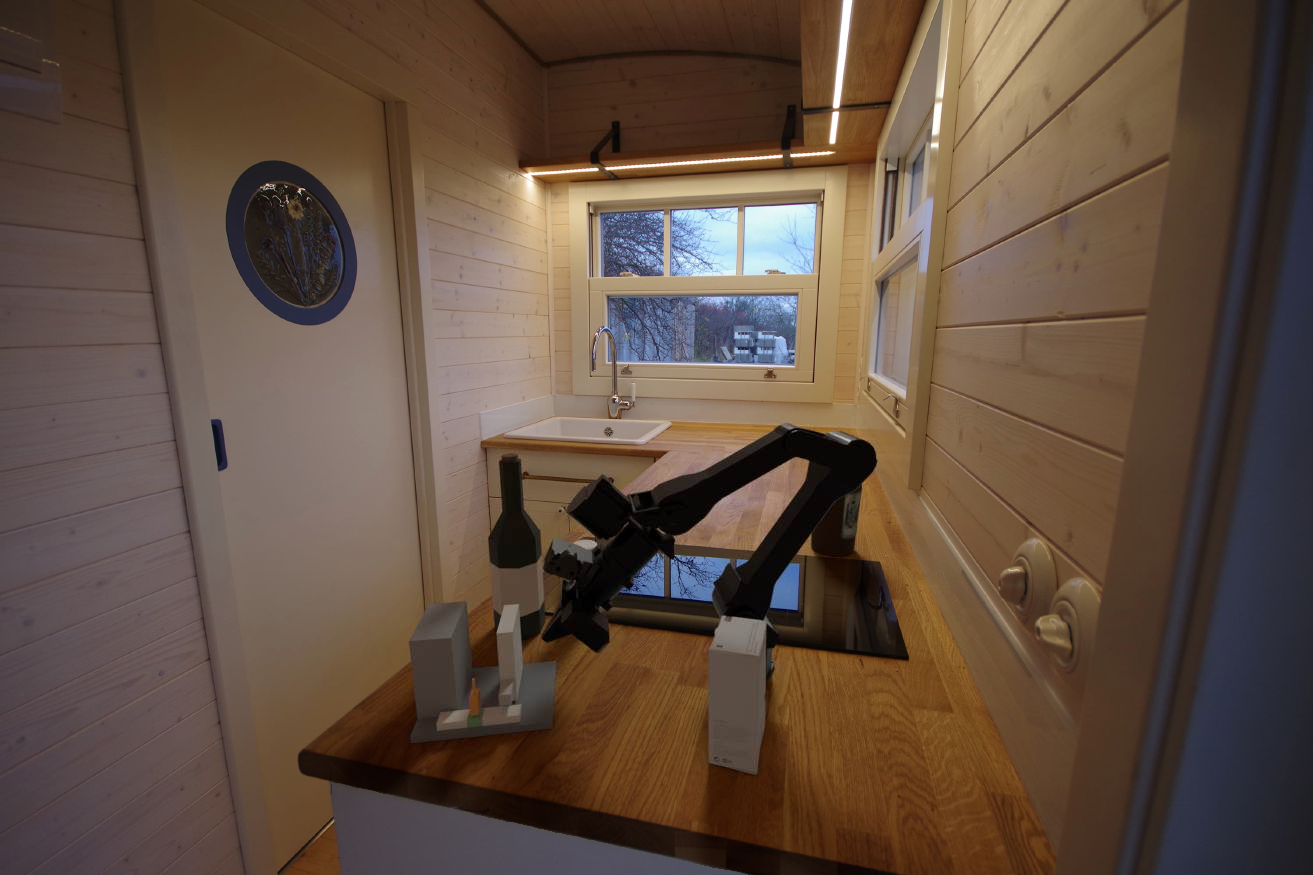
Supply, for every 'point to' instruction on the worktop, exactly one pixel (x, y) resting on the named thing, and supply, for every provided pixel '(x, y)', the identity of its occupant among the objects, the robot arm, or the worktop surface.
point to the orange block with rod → (474, 699)
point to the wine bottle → (516, 554)
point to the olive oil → (838, 526)
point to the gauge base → (469, 683)
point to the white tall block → (509, 654)
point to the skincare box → (737, 693)
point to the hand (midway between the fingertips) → (543, 639)
